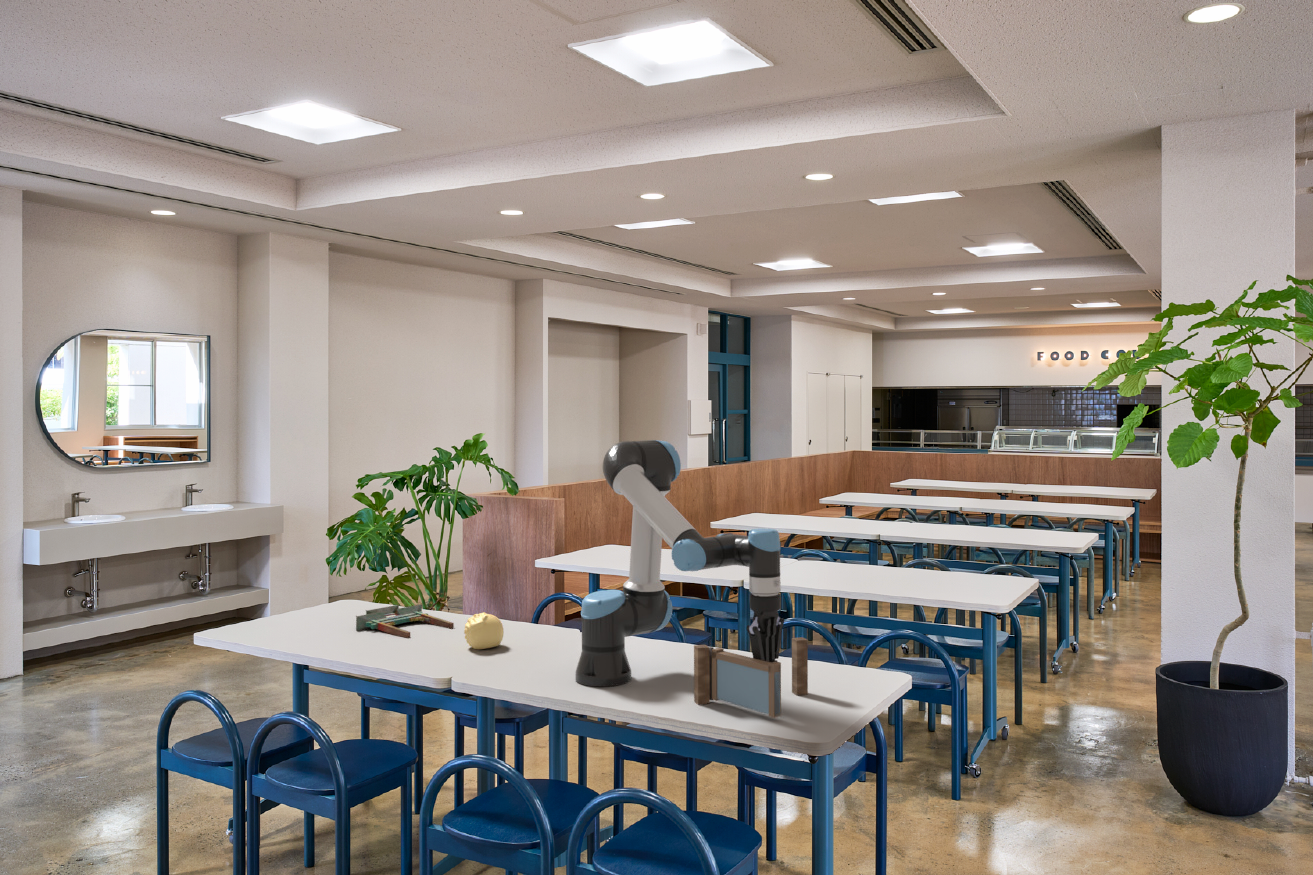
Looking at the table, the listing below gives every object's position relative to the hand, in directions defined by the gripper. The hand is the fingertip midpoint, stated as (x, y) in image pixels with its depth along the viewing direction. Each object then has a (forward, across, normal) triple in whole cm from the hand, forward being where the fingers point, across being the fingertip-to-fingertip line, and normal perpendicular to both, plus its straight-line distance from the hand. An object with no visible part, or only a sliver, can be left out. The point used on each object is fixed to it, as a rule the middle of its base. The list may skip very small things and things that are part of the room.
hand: (767, 690), depth 231 cm
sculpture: (+4, -4, +103) cm, 103 cm away
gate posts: (+5, +5, +8) cm, 11 cm away
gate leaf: (+3, -5, +3) cm, 7 cm away
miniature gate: (+4, -3, +148) cm, 148 cm away
